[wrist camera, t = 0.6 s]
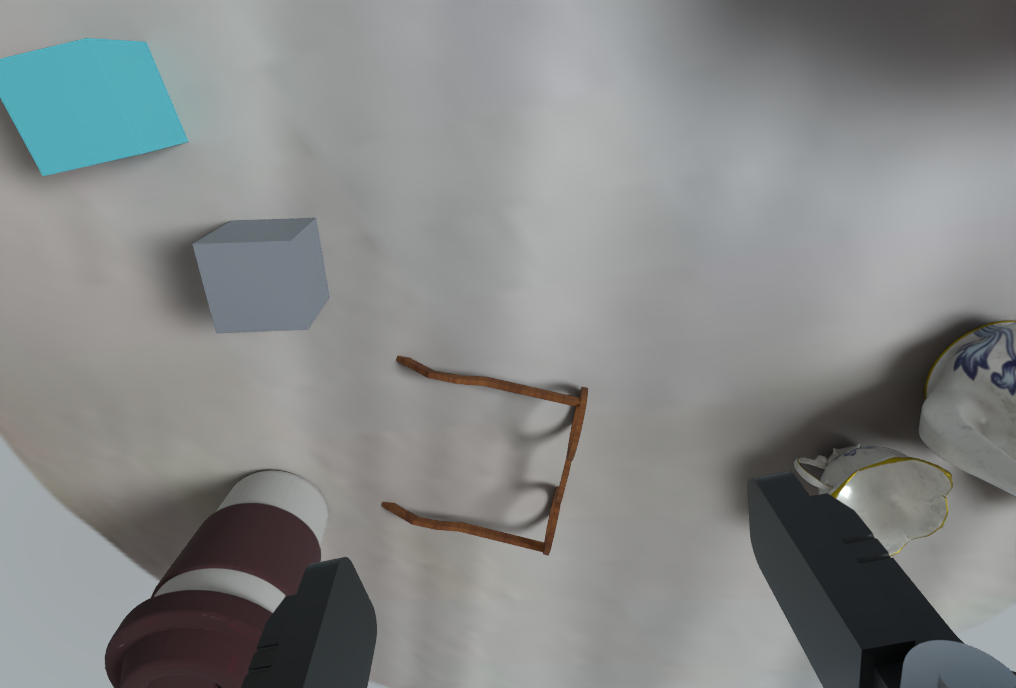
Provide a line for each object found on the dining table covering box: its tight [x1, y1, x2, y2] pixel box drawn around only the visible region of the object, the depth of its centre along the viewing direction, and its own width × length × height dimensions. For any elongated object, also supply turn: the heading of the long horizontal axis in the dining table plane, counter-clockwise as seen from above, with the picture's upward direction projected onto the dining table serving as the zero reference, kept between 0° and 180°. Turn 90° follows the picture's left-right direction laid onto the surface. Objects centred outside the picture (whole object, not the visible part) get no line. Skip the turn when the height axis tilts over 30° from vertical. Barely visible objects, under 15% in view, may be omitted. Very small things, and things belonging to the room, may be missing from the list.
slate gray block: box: [192, 218, 329, 333], centre depth 33 cm, size 5×5×5 cm
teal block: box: [0, 38, 188, 176], centre depth 29 cm, size 5×5×5 cm
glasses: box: [382, 356, 588, 555], centre depth 40 cm, size 13×13×5 cm
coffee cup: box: [105, 470, 328, 688], centre depth 37 cm, size 10×10×15 cm
